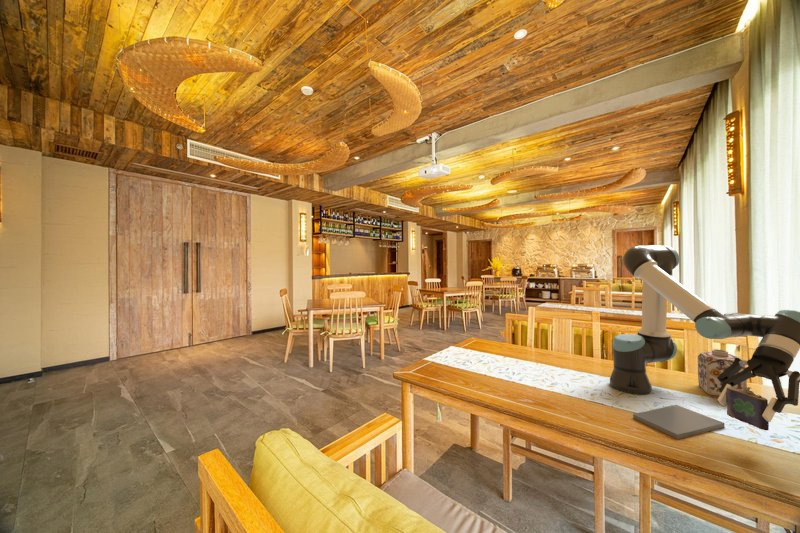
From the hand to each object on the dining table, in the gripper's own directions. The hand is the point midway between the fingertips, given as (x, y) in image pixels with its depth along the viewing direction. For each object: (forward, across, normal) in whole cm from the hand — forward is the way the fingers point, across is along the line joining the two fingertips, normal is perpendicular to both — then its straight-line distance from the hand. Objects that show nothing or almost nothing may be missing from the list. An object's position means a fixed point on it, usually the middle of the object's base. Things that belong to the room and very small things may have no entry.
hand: (742, 410), depth 88 cm
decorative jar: (-21, +27, -39) cm, 51 cm away
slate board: (+10, +16, -7) cm, 20 cm away
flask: (+1, 0, -4) cm, 5 cm away
